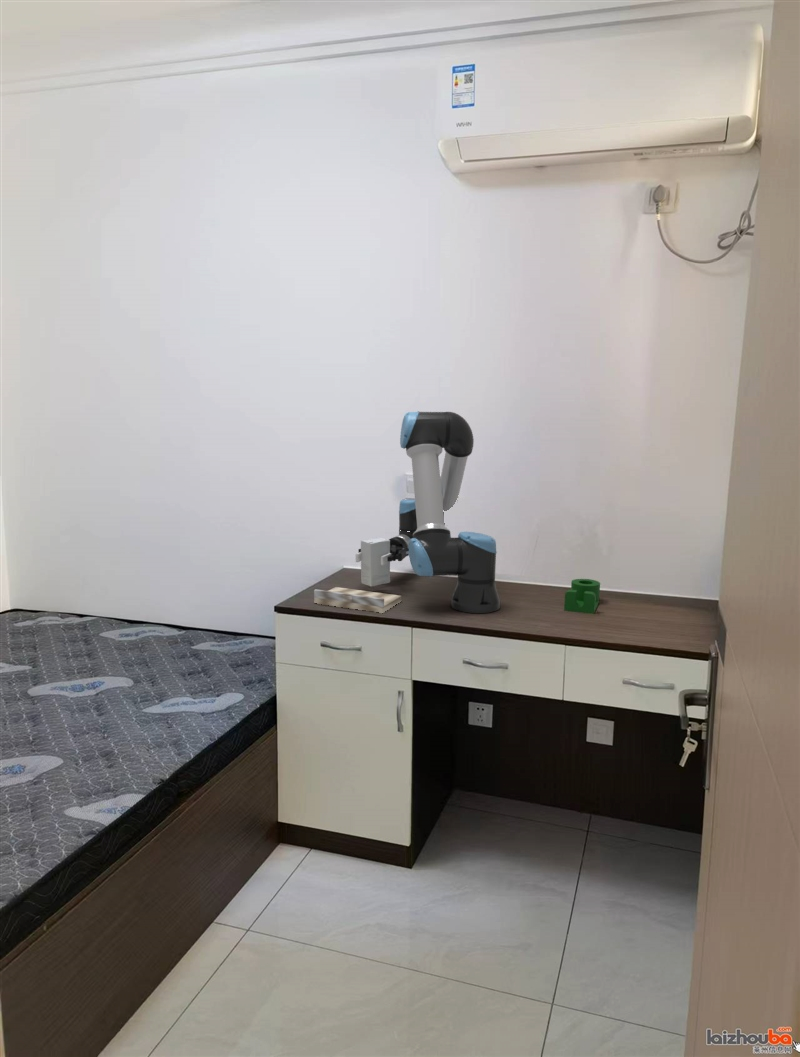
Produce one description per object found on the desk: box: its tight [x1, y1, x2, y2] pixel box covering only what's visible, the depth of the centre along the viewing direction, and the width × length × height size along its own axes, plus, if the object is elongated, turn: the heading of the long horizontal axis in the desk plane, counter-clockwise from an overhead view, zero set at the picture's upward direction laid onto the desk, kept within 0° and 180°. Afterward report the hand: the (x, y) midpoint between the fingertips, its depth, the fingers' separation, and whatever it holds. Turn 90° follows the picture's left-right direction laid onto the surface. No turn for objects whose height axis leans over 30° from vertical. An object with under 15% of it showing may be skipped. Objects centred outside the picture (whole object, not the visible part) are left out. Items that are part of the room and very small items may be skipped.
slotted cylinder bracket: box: [563, 578, 601, 615], centre depth 242 cm, size 18×9×6 cm, turn 159°
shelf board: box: [313, 586, 403, 614], centre depth 242 cm, size 24×14×4 cm, turn 66°
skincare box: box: [360, 536, 391, 587], centre depth 251 cm, size 8×6×15 cm
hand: (369, 559), depth 247 cm, fingers closed on skincare box, 8 cm apart
